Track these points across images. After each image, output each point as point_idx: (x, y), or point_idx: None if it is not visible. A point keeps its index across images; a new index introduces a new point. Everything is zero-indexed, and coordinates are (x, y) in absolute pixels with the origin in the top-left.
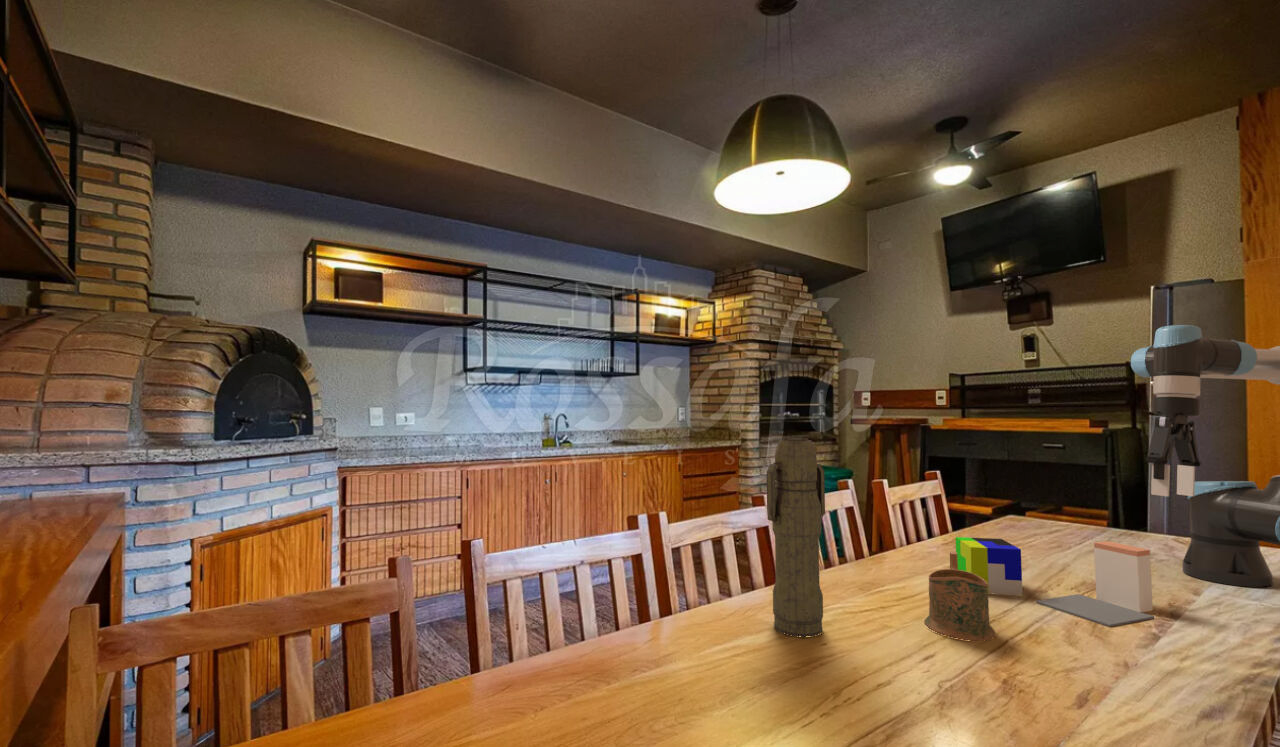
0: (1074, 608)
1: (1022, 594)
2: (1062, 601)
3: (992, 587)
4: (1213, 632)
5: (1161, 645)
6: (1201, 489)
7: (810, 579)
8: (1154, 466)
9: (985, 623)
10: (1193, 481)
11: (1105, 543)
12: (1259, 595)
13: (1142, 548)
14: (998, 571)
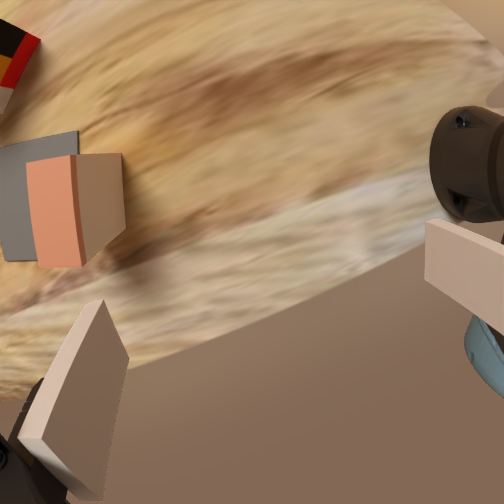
0: (10, 194)
1: (1, 114)
2: (19, 161)
3: None
4: (116, 319)
5: (18, 318)
6: None
7: None
8: (13, 440)
9: None
10: (474, 310)
11: (42, 178)
12: (410, 237)
13: (79, 249)
14: None
